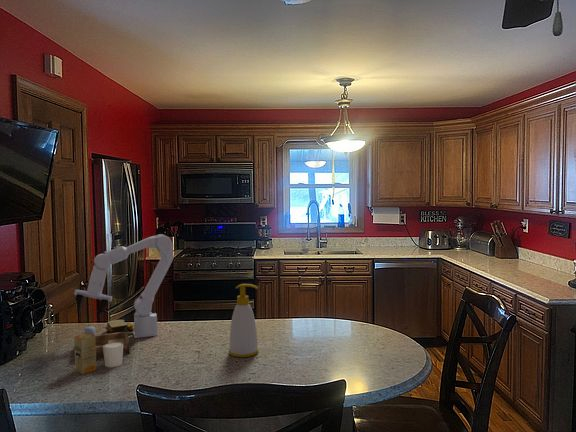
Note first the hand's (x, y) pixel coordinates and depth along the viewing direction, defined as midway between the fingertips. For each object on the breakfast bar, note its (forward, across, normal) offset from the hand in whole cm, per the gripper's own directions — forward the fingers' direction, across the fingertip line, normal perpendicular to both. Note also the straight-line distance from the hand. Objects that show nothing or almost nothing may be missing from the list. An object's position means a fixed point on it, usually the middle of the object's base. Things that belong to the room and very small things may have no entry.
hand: (88, 315), depth 186 cm
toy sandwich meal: (+8, +12, +11) cm, 18 cm away
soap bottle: (-3, +63, -24) cm, 67 cm away
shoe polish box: (+11, +10, -31) cm, 34 cm away
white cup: (+9, +18, -27) cm, 33 cm away
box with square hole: (+10, +11, -11) cm, 18 cm away
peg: (+11, +3, +1) cm, 11 cm away
